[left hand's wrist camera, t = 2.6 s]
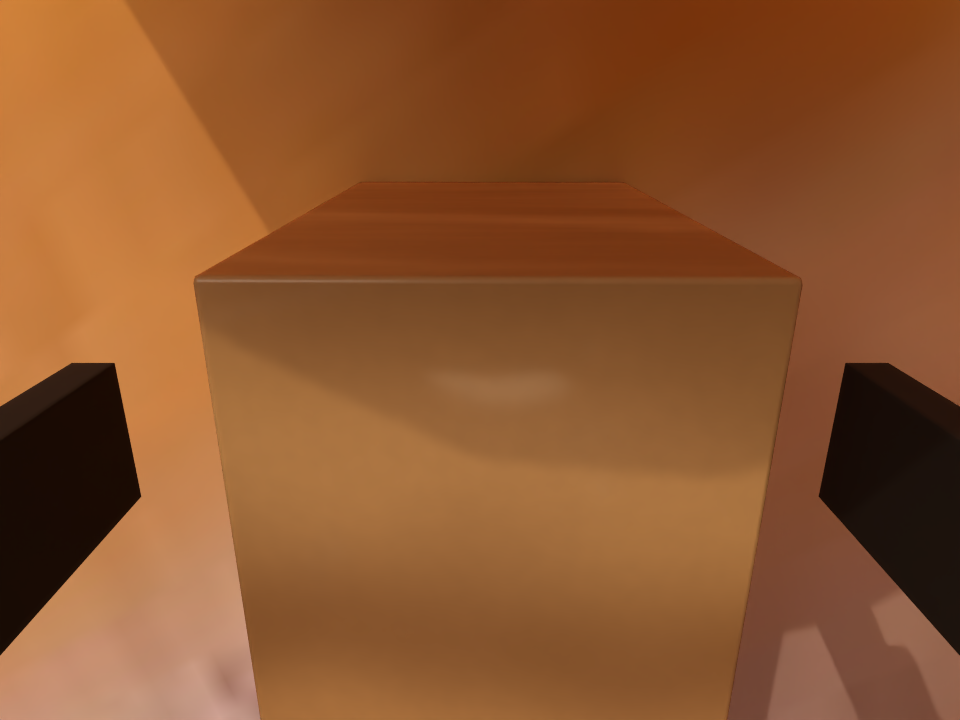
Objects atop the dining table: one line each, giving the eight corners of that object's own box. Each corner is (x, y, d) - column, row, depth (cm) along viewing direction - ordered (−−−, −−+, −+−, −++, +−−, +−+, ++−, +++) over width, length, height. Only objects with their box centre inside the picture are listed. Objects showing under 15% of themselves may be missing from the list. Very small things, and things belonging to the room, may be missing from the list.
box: (358, 181, 18) (189, 276, 8) (626, 182, 18) (807, 277, 8) (393, 751, 26) (330, 1180, 16) (583, 753, 26) (648, 1186, 16)
